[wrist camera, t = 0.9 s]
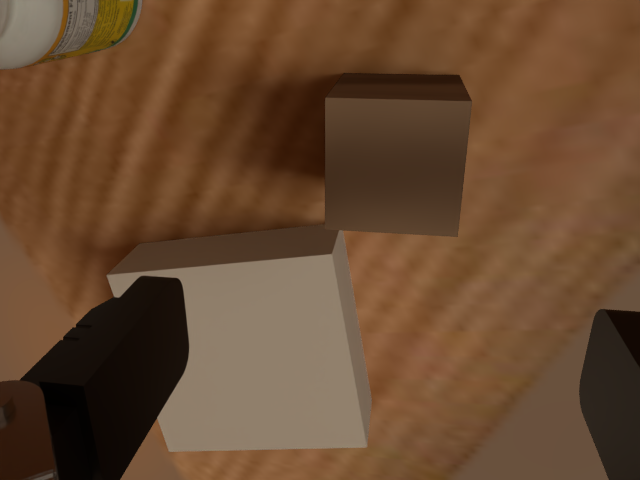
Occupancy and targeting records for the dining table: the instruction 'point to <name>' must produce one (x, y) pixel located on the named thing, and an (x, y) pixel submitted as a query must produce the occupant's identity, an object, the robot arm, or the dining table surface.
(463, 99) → the walnut block
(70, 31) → the supplement bottle
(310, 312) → the riser block
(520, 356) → the dining table surface
